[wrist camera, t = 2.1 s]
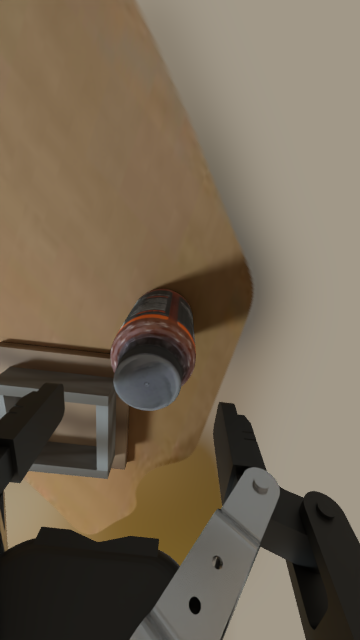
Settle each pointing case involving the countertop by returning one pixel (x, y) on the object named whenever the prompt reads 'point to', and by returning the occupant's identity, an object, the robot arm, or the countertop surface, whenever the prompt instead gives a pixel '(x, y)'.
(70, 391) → the socket board
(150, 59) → the countertop surface
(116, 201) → the countertop surface
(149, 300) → the supplement bottle
